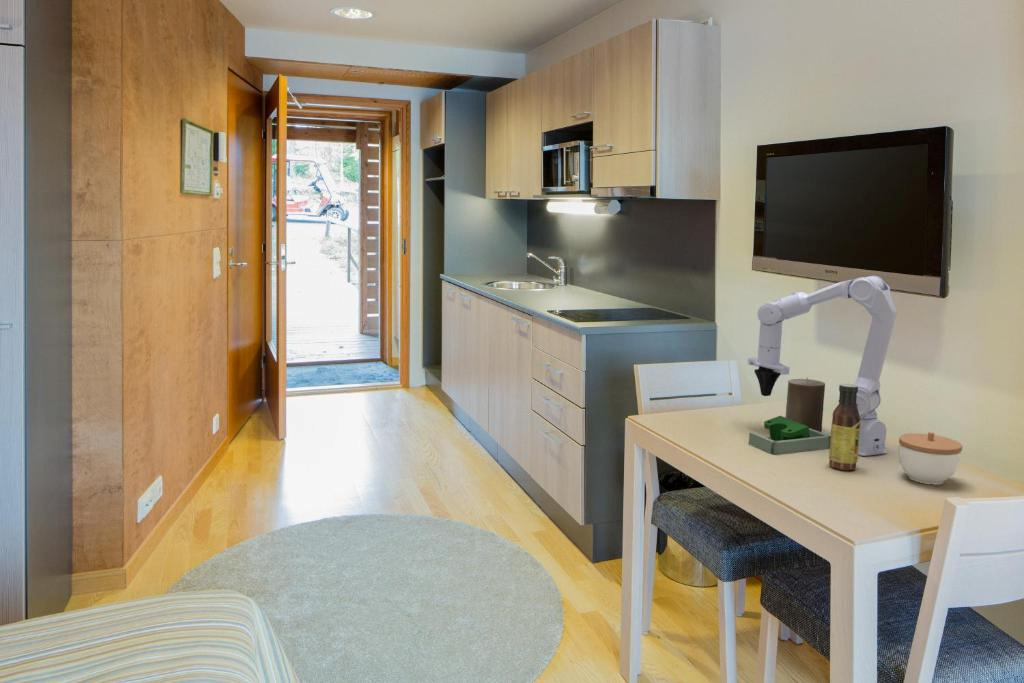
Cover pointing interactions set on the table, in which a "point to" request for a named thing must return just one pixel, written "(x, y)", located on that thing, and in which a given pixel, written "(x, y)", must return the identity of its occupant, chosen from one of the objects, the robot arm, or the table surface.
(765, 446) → the bracket
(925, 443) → the lidded bowl
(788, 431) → the clamp
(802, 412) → the pillar candle
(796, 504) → the table surface
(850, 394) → the sauce bottle
